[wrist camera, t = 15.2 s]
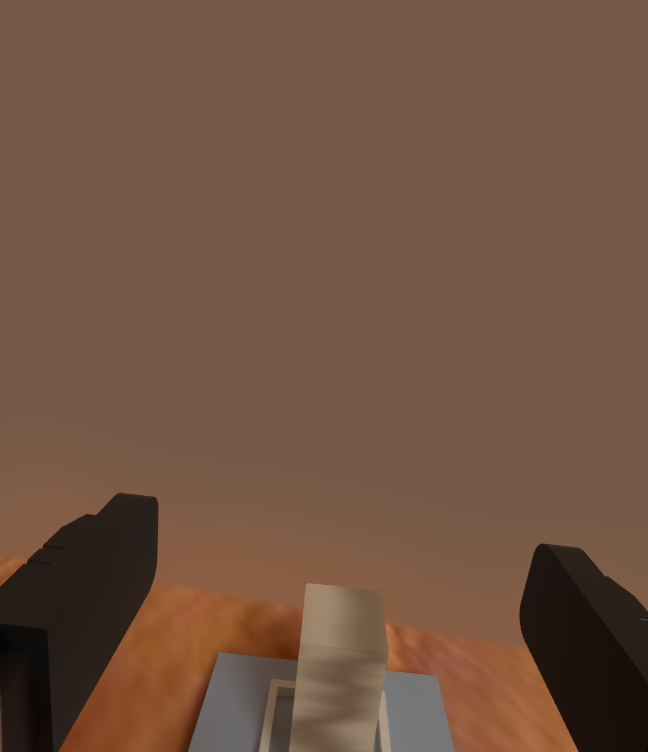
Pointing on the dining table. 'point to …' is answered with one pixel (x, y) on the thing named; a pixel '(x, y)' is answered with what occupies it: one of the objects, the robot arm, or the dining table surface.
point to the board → (276, 700)
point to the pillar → (339, 670)
